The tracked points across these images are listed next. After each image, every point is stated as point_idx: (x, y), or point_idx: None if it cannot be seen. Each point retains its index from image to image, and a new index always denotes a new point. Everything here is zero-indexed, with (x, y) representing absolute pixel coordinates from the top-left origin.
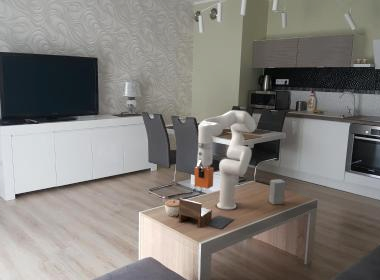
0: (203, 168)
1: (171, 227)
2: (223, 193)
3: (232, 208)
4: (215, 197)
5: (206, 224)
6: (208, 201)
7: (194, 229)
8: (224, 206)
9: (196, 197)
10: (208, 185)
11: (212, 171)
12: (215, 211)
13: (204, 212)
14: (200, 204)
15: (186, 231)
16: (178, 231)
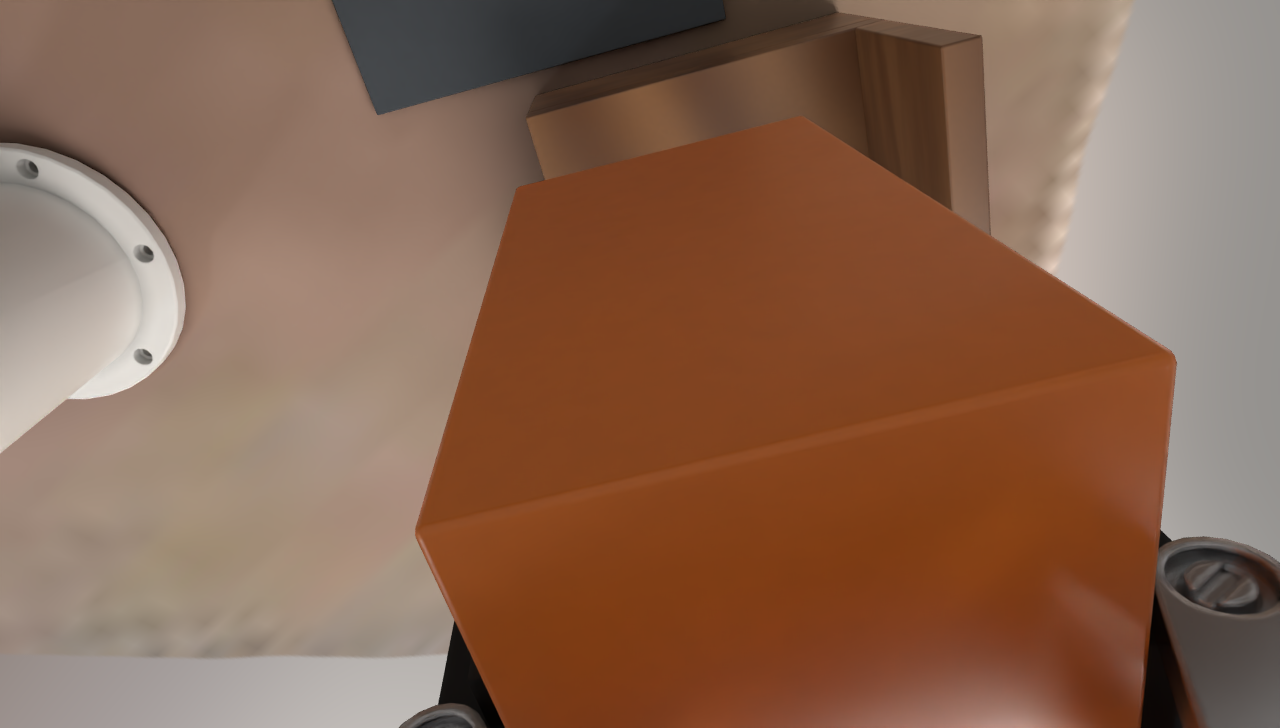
0: (1227, 680)
1: (1041, 241)
2: (2, 348)
3: (25, 148)
4: (2, 551)
5: (722, 8)
6: (168, 512)
7: (926, 19)
8: (113, 246)
9: (221, 652)
10: (804, 137)
11: (569, 381)
12: (300, 250)
13: (687, 119)
14: (976, 37)
15: (1033, 45)
16: (1086, 110)
